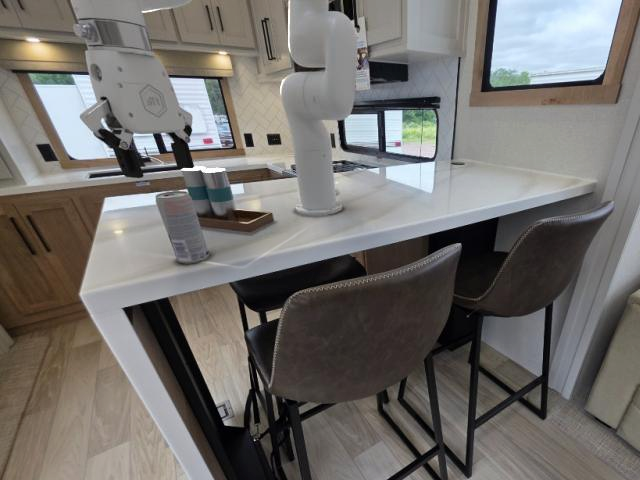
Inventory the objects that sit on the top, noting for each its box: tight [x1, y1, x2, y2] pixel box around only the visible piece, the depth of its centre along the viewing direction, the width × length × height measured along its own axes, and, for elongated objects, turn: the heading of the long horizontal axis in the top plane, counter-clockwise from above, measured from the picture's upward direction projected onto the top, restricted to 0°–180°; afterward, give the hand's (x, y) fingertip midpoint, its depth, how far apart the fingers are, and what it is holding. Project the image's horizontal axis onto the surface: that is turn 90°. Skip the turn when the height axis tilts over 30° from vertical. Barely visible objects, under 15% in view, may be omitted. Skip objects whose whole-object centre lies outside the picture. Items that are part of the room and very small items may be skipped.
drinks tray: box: [198, 208, 275, 234], centre depth 80 cm, size 9×19×2 cm, turn 74°
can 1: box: [180, 166, 215, 219], centre depth 78 cm, size 5×5×12 cm
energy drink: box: [154, 190, 210, 265], centre depth 60 cm, size 5×5×12 cm
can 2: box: [201, 167, 239, 222], centre depth 77 cm, size 5×5×12 cm
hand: (162, 172), depth 54 cm, fingers open, 9 cm apart
